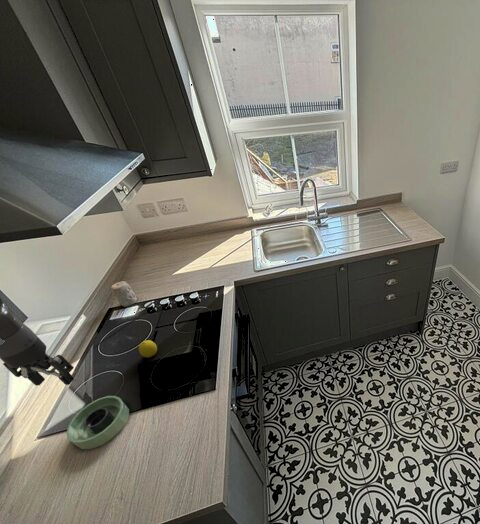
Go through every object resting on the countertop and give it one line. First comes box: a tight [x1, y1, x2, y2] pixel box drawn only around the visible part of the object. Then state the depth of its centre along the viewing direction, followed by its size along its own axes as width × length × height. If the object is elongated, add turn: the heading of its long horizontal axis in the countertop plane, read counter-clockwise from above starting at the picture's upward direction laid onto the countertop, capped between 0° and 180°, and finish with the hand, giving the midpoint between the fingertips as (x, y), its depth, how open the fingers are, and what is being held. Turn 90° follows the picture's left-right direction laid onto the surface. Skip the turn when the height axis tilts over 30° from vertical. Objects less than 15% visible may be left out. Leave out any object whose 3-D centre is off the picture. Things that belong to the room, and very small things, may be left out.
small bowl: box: [83, 408, 114, 434], centre depth 91 cm, size 6×6×4 cm
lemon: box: [138, 339, 158, 358], centre depth 113 cm, size 6×6×8 cm
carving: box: [110, 280, 137, 308], centre depth 138 cm, size 6×8×12 cm
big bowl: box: [66, 395, 130, 450], centre depth 91 cm, size 14×14×5 cm
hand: (55, 382), depth 82 cm, fingers open, 8 cm apart
